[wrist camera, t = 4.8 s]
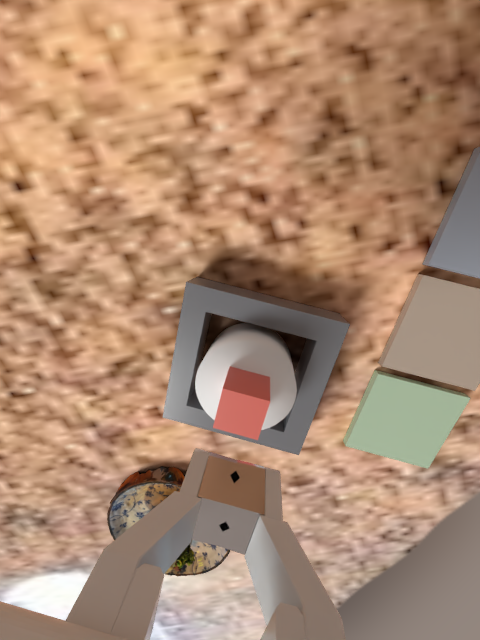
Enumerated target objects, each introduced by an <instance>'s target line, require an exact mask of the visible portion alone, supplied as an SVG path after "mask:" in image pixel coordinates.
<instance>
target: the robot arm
mask: <svg viewBox="0 0 480 640" xmlns="http://www.w3.org/2000/svg"><path fill="white" fill-rule="evenodd" d="M191 540H195V541H199V542H203V543H208V544H212V545H216V546H219V547H222V548H226V549H229V550H232V551H235V552H238V553H241V554H244V555H245V559H246V563H247V566H248V569H249V572H250V575H251V578H252V581H253V585H254V588H255V591H256V594H257V597H258V600H259V603H260V606H261V610H262V613H263V616H264V619H265V622H266V625H267V627H266V629H265V631H264V633H263V635H262V637H261V639H260V640H345V634H344V629H343V624H342V618H341V617H340V615H339V613H338V611H337V609H336V608H335V606H334V604H333V602H332V600H331V599H330V597H329V595H328V593H327V592H326V590H325V588H324V586H323V584H322V583H321V581H320V579H319V577H318V576H317V574H316V572H315V570H314V569H313V567H312V565H311V563H310V561H309V560H308V558H307V556H306V554H305V553H304V551H303V549H302V547H301V545H300V544H299V542H298V540H297V538H296V537H295V535H294V533H293V531H292V530H291V528H290V526H289V524H288V522H285V521H283V515H282V495H281V476H280V472H279V471H278V470H274V469H270V468H266V467H265V468H264V467H263V466H259V465H255V464H252V463H248V462H244V461H240V460H235V459H232V458H228V457H225V456H222V455H218V454H215V453H212V452H210V453H209V452H208V451H204V450H201V449H197V448H196V449H195V450H194V452H193V455H192V458H191V461H190V464H189V466H188V469H187V472H186V475H185V478H184V481H183V483H182V486H181V489H180V492H177V491H174V492H173V493H172V494H171V495H169V496H168V497H167V498H166V499H165V500H163V501H162V502H161V503H160V504H158V505H157V506H156V507H155V508H154V509H152V510H151V511H150V512H149V513H147V514H146V515H145V516H144V517H143V518H141V519H140V520H139V521H138V522H136V523H135V524H134V525H133V526H131V527H130V528H129V529H128V530H127V531H125V532H124V533H123V534H122V535H120V536H119V537H118V538H117V539H116V540H114V541H113V542H112V543H111V544H109V545H108V546H107V547H106V548H105V549H104V550H103V552H102V554H101V555H100V557H99V559H98V561H97V563H96V565H95V567H94V569H93V570H92V572H91V574H90V576H89V578H88V580H87V582H86V584H85V585H84V587H83V589H82V591H81V593H80V595H79V597H78V599H77V600H76V602H75V604H74V606H73V608H72V610H71V612H70V613H69V615H68V617H67V619H66V621H64V620H61V619H57V618H54V617H51V616H47V615H44V614H40V613H37V612H34V611H30V610H27V609H24V608H20V607H17V606H14V605H10V604H7V603H4V602H0V640H150V636H151V633H152V629H153V624H154V620H155V615H156V611H157V606H158V601H159V597H160V592H161V588H162V583H163V578H164V574H165V572H166V571H167V570H168V569H169V568H170V566H171V565H172V564H173V563H174V562H175V560H176V559H177V558H178V557H179V556H180V554H181V553H182V552H183V551H184V550H185V548H186V547H187V546H188V545H189V544H190V543H191Z"/></svg>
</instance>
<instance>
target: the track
mask: <svg viewBox="0 0 480 640" xmlns="http://www.w3.org/2000/svg"><path fill="white" fill-rule="evenodd" d="M423 265H427V266H431V267H435V268H439V269H443V270H447V271H451V272H455V273H459V274H463V275H467V276H471V277H475V278H479V279H480V147H478V148H476V149H474V151H473V153H472V155H471V158H470V160H469V162H468V164H467V167H466V169H465V171H464V173H463V175H462V178H461V180H460V182H459V184H458V186H457V189H456V191H455V193H454V195H453V198H452V200H451V202H450V204H449V206H448V209H447V211H446V213H445V215H444V218H443V220H442V222H441V224H440V226H439V229H438V231H437V233H436V235H435V238H434V240H433V242H432V244H431V246H430V249H429V251H428V253H427V255H426V258H425V260H424V262H423ZM378 363H379V364H380V365H381V366H382V367H386V368H390V369H394V370H397V371H401V372H405V373H409V374H413V375H416V376H420V377H424V378H428V379H432V380H435V381H439V382H443V383H447V384H451V385H455V386H458V387H462V388H466V389H470V390H474V391H475V390H476V388H477V387H478V385H479V383H480V289H478V288H474V287H470V286H466V285H462V284H458V283H454V282H450V281H446V280H442V279H438V278H434V277H430V276H426V275H422V274H418V275H417V278H416V280H415V282H414V284H413V286H412V289H411V291H410V293H409V295H408V298H407V300H406V302H405V304H404V306H403V309H402V311H401V313H400V315H399V317H398V320H397V322H396V324H395V326H394V329H393V331H392V333H391V335H390V337H389V340H388V342H387V344H386V346H385V349H384V351H383V353H382V355H381V357H380V360H379V362H378ZM469 400H470V397H468V396H467V395H466V394H464V393H461V392H457V391H453V390H449V389H446V388H442V387H438V386H434V385H430V384H427V383H423V382H419V381H415V380H411V379H408V378H404V377H400V376H396V375H392V374H389V373H385V372H381V371H377V370H375V371H374V373H373V375H372V377H371V380H370V382H369V384H368V386H367V389H366V391H365V393H364V395H363V397H362V400H361V402H360V404H359V406H358V409H357V411H356V413H355V415H354V417H353V420H352V422H351V424H350V426H349V428H348V431H347V433H346V435H345V437H344V440H343V441H344V444H345V446H347V447H351V448H355V449H358V450H362V451H366V452H369V453H373V454H377V455H380V456H384V457H388V458H391V459H395V460H399V461H402V462H406V463H410V464H413V465H417V466H420V467H424V468H429V466H430V465H431V463H432V461H433V460H434V458H435V456H436V455H437V453H438V451H439V450H440V448H441V446H442V445H443V443H444V441H445V440H446V438H447V436H448V435H449V433H450V431H451V430H452V428H453V427H454V425H455V423H456V422H457V420H458V418H459V417H460V415H461V413H462V412H463V410H464V408H465V407H466V405H467V403H468V402H469Z"/></svg>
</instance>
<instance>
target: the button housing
mask: <svg viewBox="0 0 480 640" xmlns="http://www.w3.org/2000/svg"><path fill="white" fill-rule="evenodd" d="M211 314H216V315H220V316H224V317H228V318H232V319H235V320H239V321H243V322H247V323H251V324H255V325H258V326H262V327H266V328H270V329H274V330H277V331H281V332H285V333H289V334H293V335H297V336H300V337H304V338H307V339H306V342H305V345H304V348H303V351H302V354H301V357H300V360H299V362H298V365H297V368H296V371H295V374H294V375H295V380H296V387H297V392H296V398H295V402H294V404H293V407H292V409H291V410H290V412H289V413H288V414H287V416H286V417H285V418H284V419H283V420H281V421H280V422H279V423H277V424H276V425H274V426H272V427H270V428H267V429H264V430H261V432H260V435H259V438H258V440H255V439H252V438H248V437H244V436H241V435H237V434H233V433H230V432H226V431H223V430H219V429H215V428H213V425H214V421H215V420H213V419H212V418H211V417H210V416H209V415H208V414H207V413H206V412H205V410H204V409H203V408H202V406H201V404H200V402H199V400H198V398H197V394H196V389H195V379H196V374H197V371H198V368H199V366H200V364H201V361H202V356H203V352H204V347H205V342H206V337H207V333H208V328H209V323H210V319H211ZM349 326H350V324H349V323H348V322H347V321H346V320H345V319H344V318H343V317H342V316H341V315H340V314H339V313H336V312H332V311H328V310H324V309H320V308H316V307H312V306H308V305H305V304H301V303H297V302H293V301H289V300H285V299H281V298H277V297H274V296H270V295H266V294H262V293H258V292H254V291H250V290H246V289H242V288H239V287H235V286H231V285H227V284H223V283H219V282H215V281H211V280H208V279H204V278H200V277H196V278H194V279H192V280H190V281H187V282H186V287H185V293H184V298H183V304H182V310H181V315H180V321H179V327H178V333H177V338H176V344H175V350H174V356H173V361H172V367H171V373H170V379H169V384H168V390H167V396H166V401H165V407H164V413H163V418H167V419H170V420H174V421H178V422H181V423H185V424H188V425H192V426H196V427H199V428H203V429H206V430H210V431H214V432H217V433H221V434H225V435H228V436H232V437H235V438H239V439H243V440H246V441H250V442H253V443H257V444H261V445H264V446H268V447H271V448H275V449H279V450H282V451H286V452H290V453H293V454H297V455H299V453H300V451H301V448H302V445H303V443H304V440H305V438H306V435H307V433H308V430H309V428H310V425H311V423H312V420H313V417H314V415H315V412H316V410H317V407H318V405H319V402H320V400H321V397H322V395H323V392H324V389H325V387H326V384H327V382H328V379H329V377H330V374H331V372H332V369H333V366H334V364H335V361H336V359H337V356H338V354H339V351H340V349H341V346H342V344H343V341H344V338H345V336H346V333H347V331H348V328H349Z"/></svg>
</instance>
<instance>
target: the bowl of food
mask: <svg viewBox="0 0 480 640" xmlns="http://www.w3.org/2000/svg"><path fill="white" fill-rule="evenodd" d="M183 481H184V476H183V474H182V472H181V471H180V470H179V469H177V468H175V467H169V468H168V469H166V468H164V467H163V466H161V467H160V468H158V469H157V470H156V471H154V470H153V471H150V470H148V471H147V472H146V473H142V474H139V472H136V473H134V474H133V475H130V476H129V477H128V478H127V479H126V481H125V482H124V483H122V484H121V486H120V487H119V489H118V491H117V492H116V495H115V496H114V498H113V499H112V500H111V502H110V503H111V505H110V507H109V510H108V514H107V515H108V518H107V520H108V526H109V529H110V533H111V535H112V537H113V539H114V540H116V539H117V538H118V537H119V536H120V535H122V534H123V533H124V532H125V531H127V530H128V529H129V528H130V527H131V526H133V525H134V524H135V523H136V522H138V521H139V520H140V519H141V518H143V517H144V516H145V515H146V514H147V513H149V512H150V511H151V510H152V509H154V508H155V507H156V506H157V505H158V504H160V503H161V502H162V501H163V500H165V499H166V498H167V497H168V496H169V495H171V494H172V493H173V492H174V491H177V492H180V489H181V486H182V483H183ZM229 552H230V550H229V549H226V548H222V547H219V546H216V545H212V544H208V543H203V542H199V541H195V540H191V543H190V544H189V545H188V546H187V547H186V548H185V550H184V551H183V552H182V553H181V554H180V556H179V557H178V558H177V559H176V560H175V562H174V563H173V564H172V565H171V566H170V568H169V569H168V570H167V571H166V572H165V574H167V575H170V576H171V575H176V576H187V575H197V574H202V573H206V572H208V571H211V570H213V569H214V568H216V567H217V566H218V565H220V564H221V563H222V562H223V561H224V560H225V558H226V557H227V556H228V554H229Z"/></svg>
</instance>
